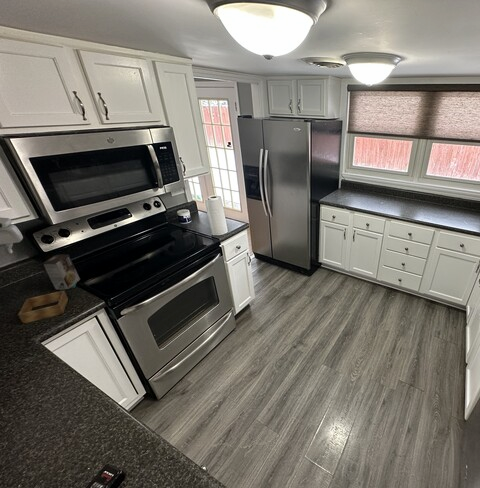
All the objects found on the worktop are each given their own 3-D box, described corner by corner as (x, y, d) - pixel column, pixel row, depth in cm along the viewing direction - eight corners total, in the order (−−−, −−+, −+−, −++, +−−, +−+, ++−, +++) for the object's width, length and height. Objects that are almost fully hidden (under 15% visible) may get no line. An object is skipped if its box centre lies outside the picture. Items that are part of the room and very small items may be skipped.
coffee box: (67, 280, 145) (55, 254, 138) (80, 279, 145) (69, 253, 138) (54, 289, 136) (41, 263, 129) (68, 289, 137) (56, 262, 130)
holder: (22, 324, 115) (17, 315, 113) (31, 307, 125) (26, 298, 123) (63, 313, 122) (58, 304, 120) (68, 298, 132) (64, 290, 129)
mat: (60, 290, 137) (59, 289, 137) (62, 283, 143) (62, 282, 143) (75, 287, 140) (74, 286, 140) (77, 280, 146) (77, 279, 146)
